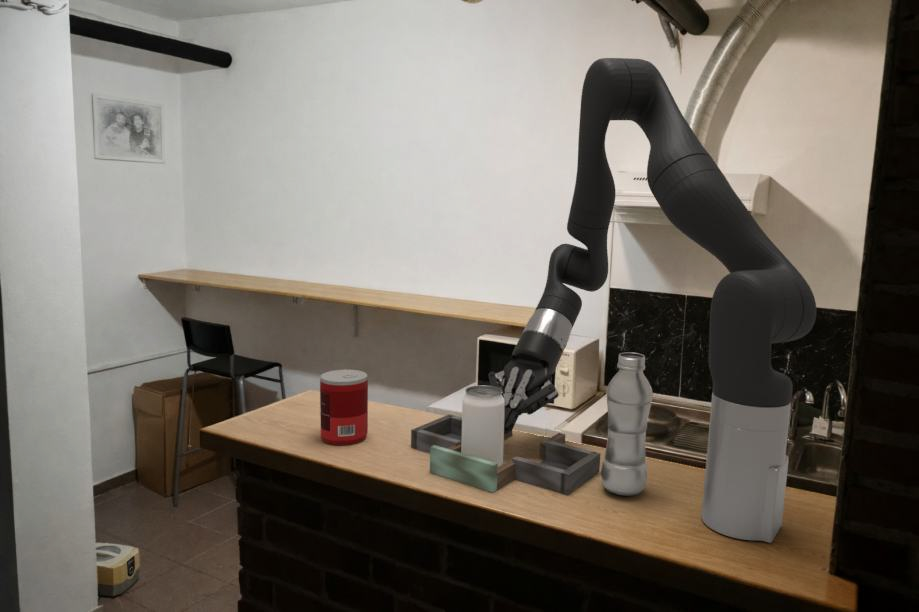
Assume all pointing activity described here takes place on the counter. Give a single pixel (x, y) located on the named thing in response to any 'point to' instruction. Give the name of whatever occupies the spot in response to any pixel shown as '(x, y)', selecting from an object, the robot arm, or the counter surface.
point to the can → (483, 423)
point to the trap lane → (556, 472)
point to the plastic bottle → (627, 427)
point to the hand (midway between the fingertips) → (500, 431)
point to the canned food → (344, 406)
